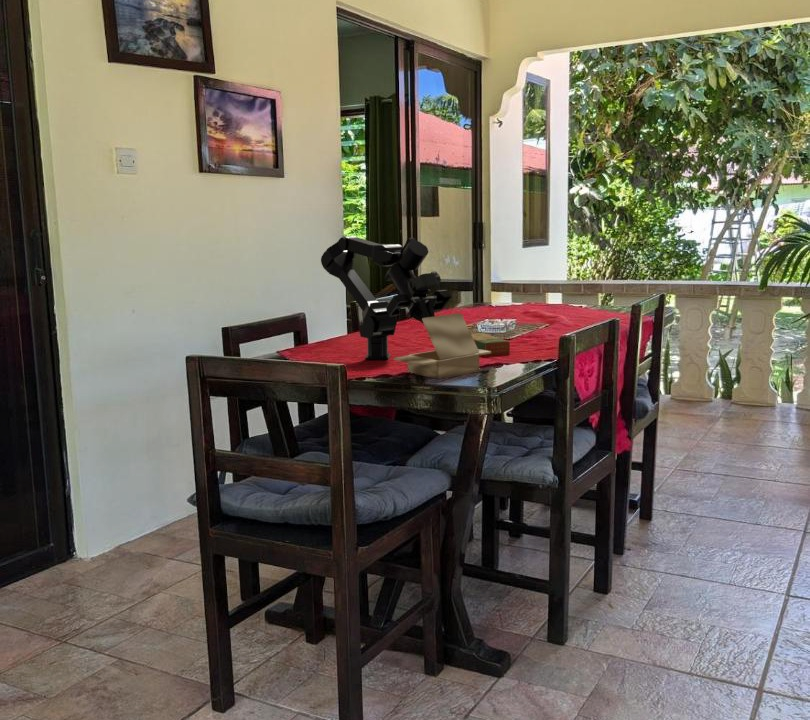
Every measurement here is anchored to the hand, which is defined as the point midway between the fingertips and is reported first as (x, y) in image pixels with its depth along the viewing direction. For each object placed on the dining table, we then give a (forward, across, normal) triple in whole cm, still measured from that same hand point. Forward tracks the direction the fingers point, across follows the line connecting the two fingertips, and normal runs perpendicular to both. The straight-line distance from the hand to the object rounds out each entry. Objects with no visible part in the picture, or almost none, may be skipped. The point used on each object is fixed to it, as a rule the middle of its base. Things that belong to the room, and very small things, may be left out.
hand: (434, 327), depth 217 cm
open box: (+10, 0, +6) cm, 12 cm away
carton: (0, +30, +16) cm, 34 cm away
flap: (+5, 0, -3) cm, 6 cm away
